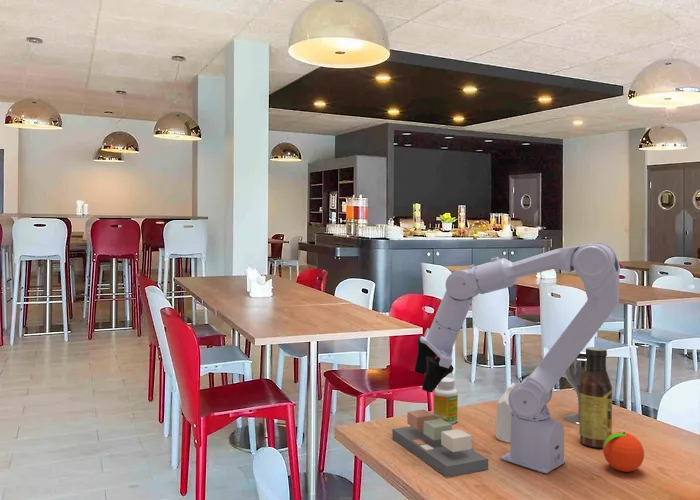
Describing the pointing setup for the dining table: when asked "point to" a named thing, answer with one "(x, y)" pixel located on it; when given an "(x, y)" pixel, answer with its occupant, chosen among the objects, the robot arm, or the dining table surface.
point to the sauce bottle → (595, 400)
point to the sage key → (435, 428)
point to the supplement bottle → (446, 401)
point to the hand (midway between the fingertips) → (422, 381)
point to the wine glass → (576, 381)
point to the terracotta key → (418, 418)
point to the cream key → (456, 440)
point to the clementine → (623, 451)
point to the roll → (504, 417)
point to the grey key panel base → (439, 453)
